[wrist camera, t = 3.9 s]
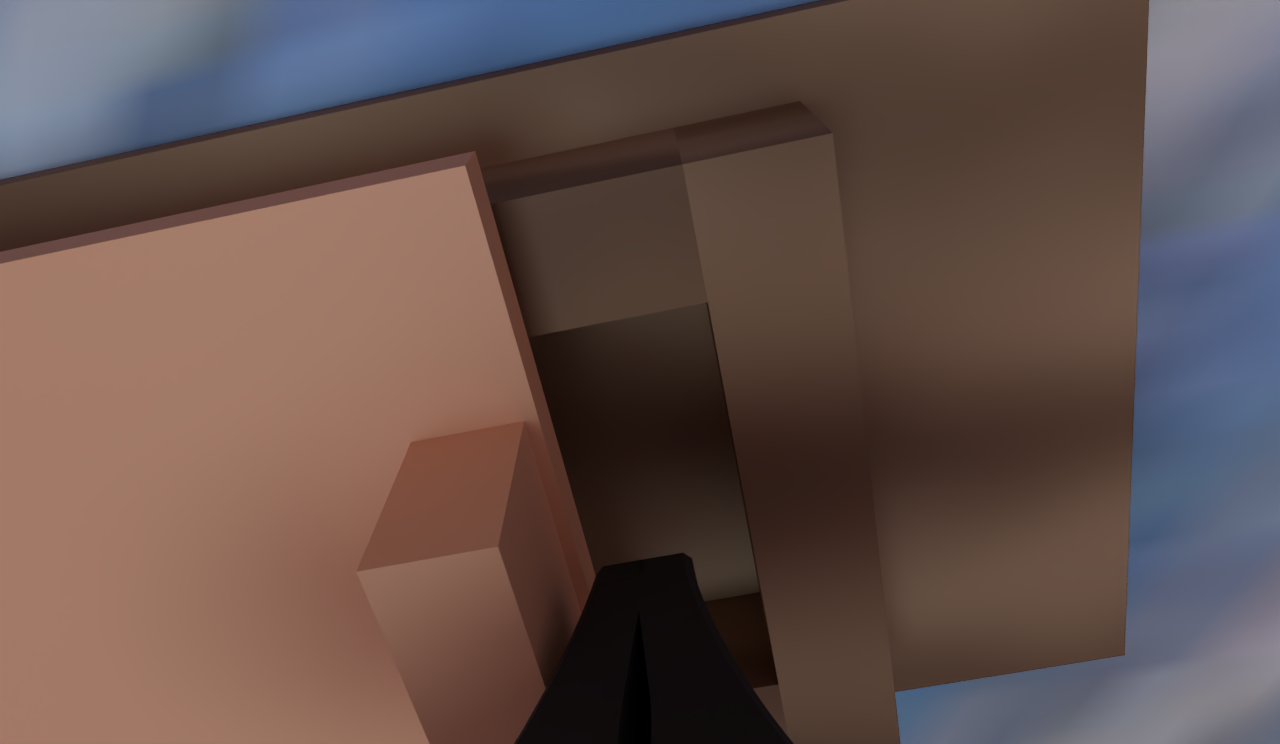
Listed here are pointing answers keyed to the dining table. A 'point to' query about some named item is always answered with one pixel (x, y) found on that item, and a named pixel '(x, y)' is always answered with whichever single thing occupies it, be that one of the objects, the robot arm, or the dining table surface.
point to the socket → (795, 315)
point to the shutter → (281, 476)
